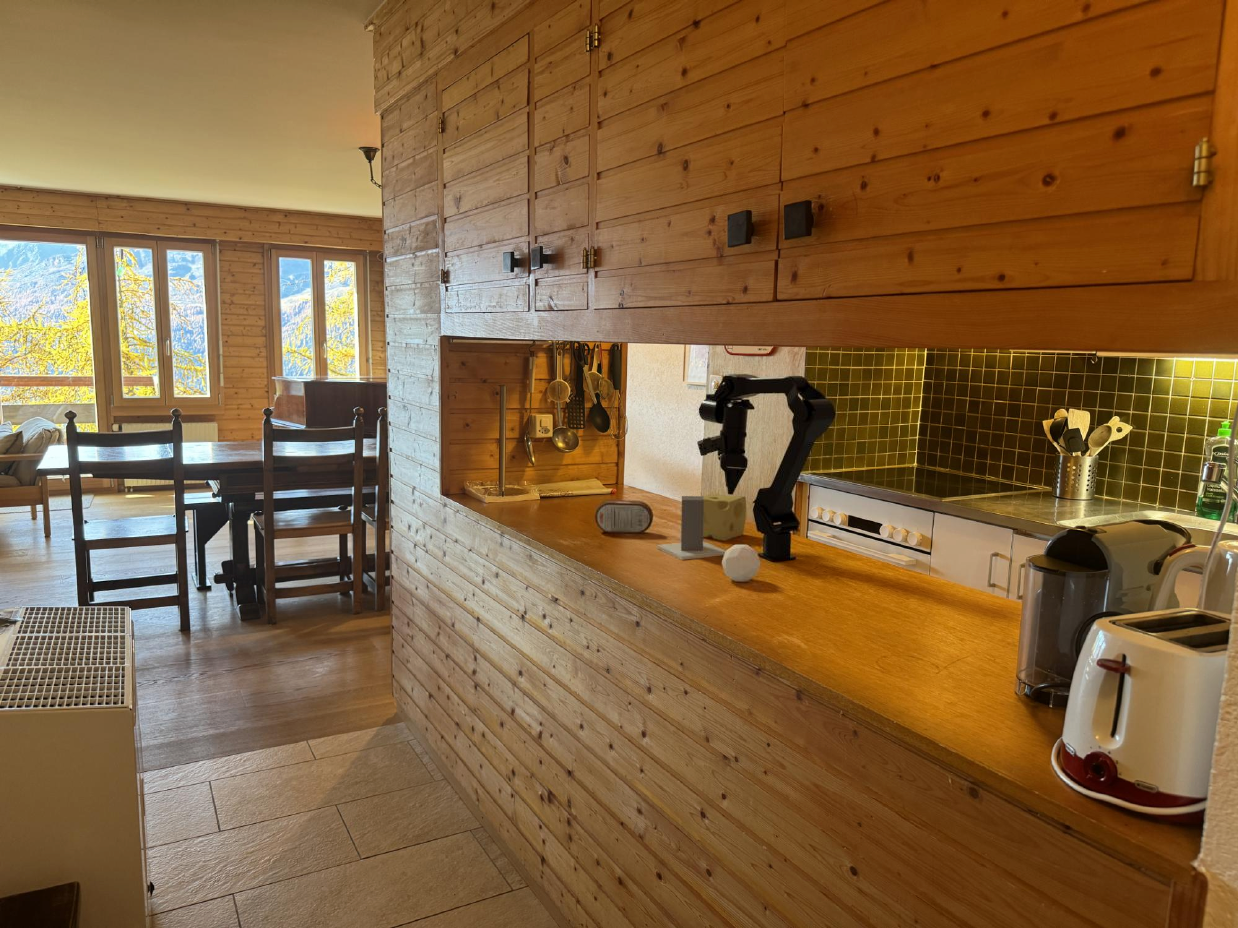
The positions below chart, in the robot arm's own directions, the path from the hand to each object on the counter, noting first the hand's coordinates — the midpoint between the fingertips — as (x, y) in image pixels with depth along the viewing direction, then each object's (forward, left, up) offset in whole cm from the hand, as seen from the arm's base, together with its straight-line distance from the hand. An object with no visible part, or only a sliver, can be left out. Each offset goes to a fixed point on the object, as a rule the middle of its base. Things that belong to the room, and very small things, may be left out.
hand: (729, 490), depth 211 cm
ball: (-29, +15, -14) cm, 35 cm away
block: (-3, +12, -13) cm, 17 cm away
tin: (+22, +18, -14) cm, 32 cm away
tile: (-3, +12, -13) cm, 18 cm away
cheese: (+10, -3, -14) cm, 17 cm away
